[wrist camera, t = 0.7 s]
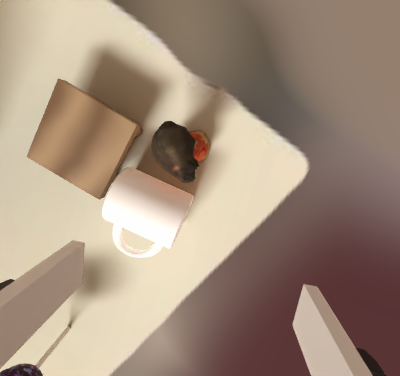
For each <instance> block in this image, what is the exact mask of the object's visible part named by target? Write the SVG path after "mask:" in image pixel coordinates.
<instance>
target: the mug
mask: <svg viewBox="0 0 400 376" xmlns="http://www.w3.org/2000/svg"><path fill="white" fill-rule="evenodd" d="M193 199H194V195H192V194H190V193H187V192H185V191H183V190H181V189H179V188H176V187H174V186H172V185H170V184H167V183H165V182H163V181H161V180H159V179H156V178H154V177H152V176H150V175H148V174H145V173H143V172H141V171H139V170H137V169H134V168H132V167H127V168H125V169H124V170H123V171H122V172H121V173H120V174H119V175H118V176H117V177H116V179H115V180H114V182H113V183H112V185H111V187H110V189H109V191H108V193H107V195H106V198H105V201H104V204H103V208H102V216H103V218H104V219H105V220H108V221H110V222H112V223H114V224H113V229H112V236H113V240H114V243H115V245H116V246H117V247H118V249H119V250H121V251H122V252H123V253H125V254H127V255H129V256H133V257H141V258H142V257H150V256H153V255H155V254H157V253H158V252H159V251H160V250H161V249H162V248H163V247H164V246H165V247H167V248H171V247H172V245H173V243H174V241H175V239H176V237H177V235H178V232H179V230H180V228H181V226H182V224H183V222H184V219H185V217H186V215H187V213H188V210H189V208H190V206H191V204H192V201H193ZM123 228H125V229H127V230H130V231H132V232H134V233H136V234H138V235H141V236H143V237H145V238H147V239H149V240H152V241H154V243H153V244H152V245H151V247H149V248H148V249H146V250H138V249H134V248H132V247H130V246H128V245H126V244H125V243H124V241H123V238H122V234H123Z"/></svg>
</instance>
